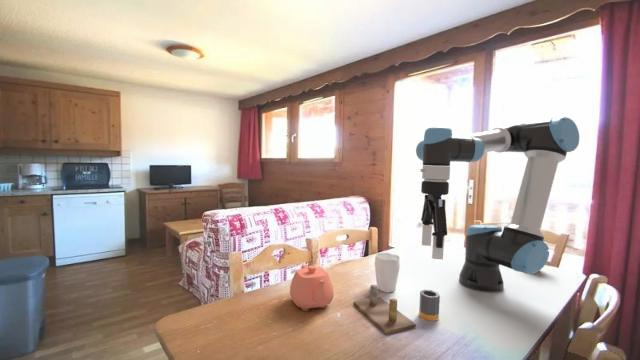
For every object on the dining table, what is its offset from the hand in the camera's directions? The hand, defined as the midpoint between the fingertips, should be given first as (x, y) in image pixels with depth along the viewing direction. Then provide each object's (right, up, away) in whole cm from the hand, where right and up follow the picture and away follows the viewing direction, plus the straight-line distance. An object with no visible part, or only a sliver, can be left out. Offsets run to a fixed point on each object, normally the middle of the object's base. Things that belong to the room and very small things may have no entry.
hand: (431, 251), depth 89 cm
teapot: (-36, -19, +7) cm, 41 cm away
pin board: (-14, -20, +1) cm, 24 cm away
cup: (-9, -19, +21) cm, 29 cm away
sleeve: (0, -20, +1) cm, 20 cm away
